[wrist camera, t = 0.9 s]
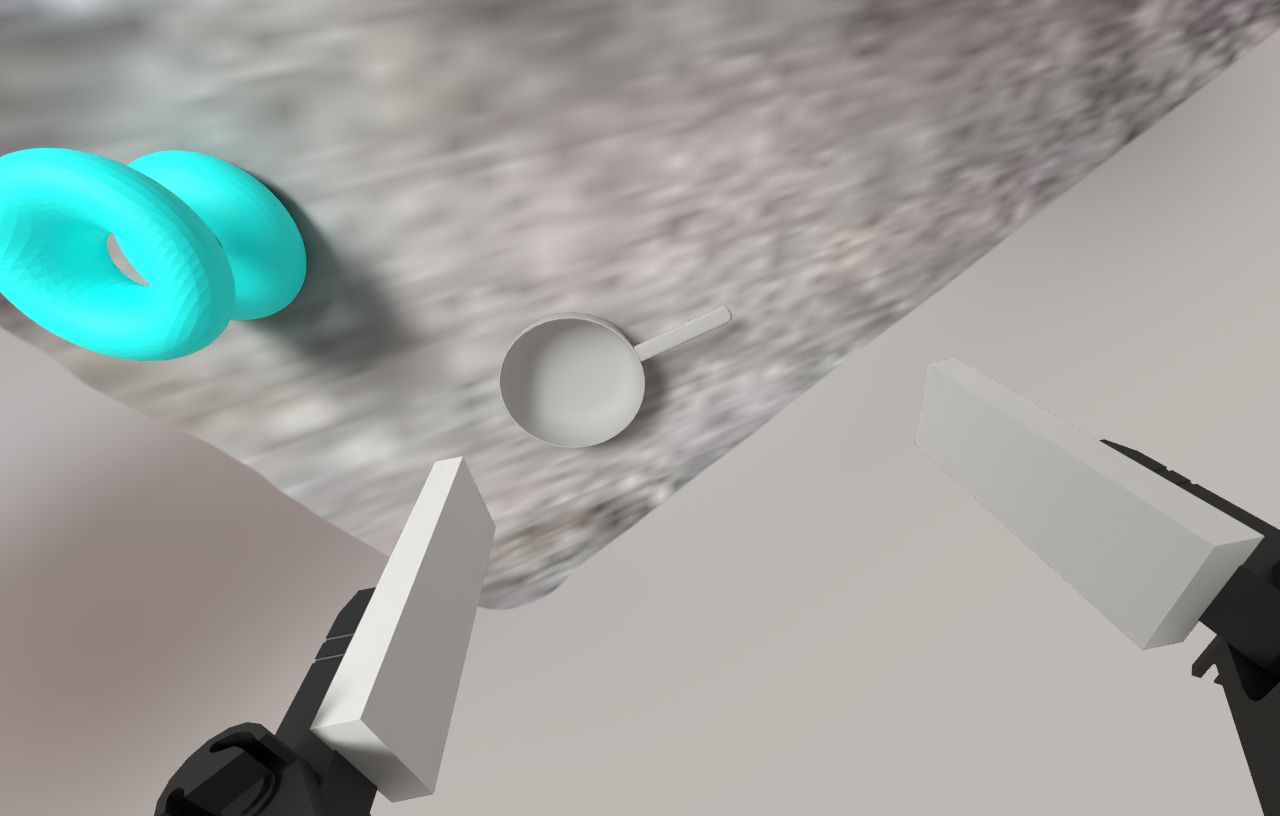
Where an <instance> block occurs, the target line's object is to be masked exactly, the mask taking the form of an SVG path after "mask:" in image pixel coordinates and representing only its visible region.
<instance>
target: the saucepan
mask: <svg viewBox="0 0 1280 816" xmlns="http://www.w3.org/2000/svg"><path fill="white" fill-rule="evenodd" d="M731 318H732V314H731V312H730V309H729V308H728V307H726V306H720V307H718V308H716V309H714V310H712V311H710V312H707V313H705V314H703V315H701V316H699V317H697V318H694V319H692V320H690V321H688V322H686V323H684V324H681V325H679V326H677V327H675V328H673V329H671V330H668V331H666V332H664V333H662V334H660V335H658V336H655V337H653V338H651V339H649V340H647V341H645V342H643V343H640V344H638V345H636V346H634V347H633V346H632V345H631V343H630V342H629V340H628V339H627V338H626V337H625V336H624V335H623V334H622V332H621V331H620V330H618V329H617V328H616V327H614V326H613V325H612V324H610V323H608V322H606V321H604V320H602V319H600V318H598V317H595V316H592V315H588V314H582V313H575V312H572V313H559V314H554V315H549V316H547V317H544V318H542V319H539V320H537V321H536V322H534V323H532V324H531V325H529V326H528V327H527V328H525V329H524V330H523V331H522V332H521V333H520V334H519V335H518V336H517V337H516V338H515V340H514V341H513V342H512V344H511V345H510V346H509V348H508V350H507V351H506V353H505V355H504V358H503V360H502V362H501V366H500V371H499V391H500V397H501V399H502V402H503V405H504V407H505V409H506V411H507V412H508V414H509V416H510V417H511V418H512V420H513V421H514V422H515V423H516V424H517V425H518V426H519V427H520V428H521V429H522V430H524V431H525V432H526V433H527V434H529V435H531V436H532V437H534V438H536V439H537V440H540V441H542V442H545V443H547V444H550V445H555V446H559V447H568V448H578V447H587V446H592V445H596V444H599V443H602V442H604V441H607V440H609V439H610V438H612V437H614V436H616V435H617V434H619V433H620V432H621V431H622V430H624V429H625V428H626V427H627V426H628V425H629V423H630V422H631V421H632V420H633V419H634V417H635V415H636V414H637V412H638V411H639V408H640V406H641V403H642V401H643V396H644V390H645V377H644V372H643V367H642V364H641V362H642V361H644V360H647V359H649V358H651V357H653V356H655V355H658V354H660V353H662V352H664V351H666V350H669V349H671V348H673V347H675V346H677V345H680V344H682V343H684V342H686V341H688V340H691V339H693V338H695V337H697V336H699V335H702V334H704V333H706V332H708V331H711V330H713V329H715V328H717V327H719V326H722V325H724V324H726V323H728V322H729V321H730V320H731Z"/></svg>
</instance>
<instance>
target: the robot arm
mask: <svg viewBox="0 0 1280 816" xmlns="http://www.w3.org/2000/svg"><path fill="white" fill-rule="evenodd" d="M915 444H916V445H917V446H918V447H919V448H920V449H921V450H922V451H923V452H925V453H926V454H927V455H928V456H929V457H930V458H931V459H932V460H934V461H935V462H936V463H937V464H938V465H939V466H940V467H941V468H942V469H943V470H944V471H945V472H947V473H948V474H949V475H950V476H951V477H952V478H953V479H954V480H955V481H957V482H958V483H959V484H960V485H961V486H962V487H963V488H964V489H965V490H967V491H968V492H969V493H970V494H971V495H972V496H973V497H974V498H975V499H976V500H977V501H979V502H980V503H981V504H982V505H983V506H984V507H985V508H986V509H987V510H988V511H990V512H991V513H992V514H993V515H994V516H995V517H996V518H997V519H998V520H999V521H1001V522H1002V523H1003V524H1004V525H1005V526H1006V527H1007V528H1008V529H1009V530H1010V531H1012V532H1013V533H1014V534H1015V535H1016V536H1017V537H1018V538H1019V539H1020V540H1021V541H1022V542H1024V543H1025V544H1026V545H1027V546H1028V547H1029V548H1030V549H1031V550H1032V551H1033V552H1035V553H1036V554H1037V555H1038V556H1039V557H1040V558H1041V559H1042V560H1043V561H1044V562H1046V563H1047V564H1048V565H1049V566H1050V567H1051V568H1052V569H1053V570H1054V571H1055V572H1057V573H1058V574H1059V575H1060V576H1061V577H1062V578H1063V579H1064V580H1065V581H1066V582H1068V583H1069V584H1070V585H1071V586H1072V587H1073V588H1074V589H1075V590H1076V591H1077V592H1079V593H1080V594H1081V595H1082V596H1083V597H1084V598H1085V599H1086V600H1087V601H1088V602H1090V603H1091V604H1092V605H1093V606H1094V607H1095V608H1096V609H1097V610H1098V611H1100V613H1102V614H1103V615H1104V616H1105V617H1106V618H1107V619H1108V620H1109V621H1110V622H1111V623H1113V624H1114V625H1115V626H1116V627H1117V628H1118V629H1119V630H1120V631H1122V633H1124V634H1125V635H1126V636H1127V637H1128V638H1129V639H1130V640H1131V641H1133V643H1135V644H1136V645H1137V646H1138V647H1139V648H1140V649H1141V650H1145V649H1150V648H1155V647H1160V646H1165V645H1170V644H1175V643H1180V642H1183V641H1184V640H1185V639H1186V637H1187V636H1188V635H1189V633H1190V632H1191V631H1192V629H1193V628H1194V627H1195V626H1196V624H1197V623H1198V622H1199V621H1200V622H1202V623H1203V624H1204V625H1206V626H1207V627H1208V628H1210V629H1211V630H1212V631H1213V632H1215V633H1216V634H1217V636H1216V637H1215V638H1214V639H1213V641H1212V642H1211V643H1210V644H1209V645H1208V647H1207V648H1206V649H1205V650H1204V651H1203V653H1202V654H1201V655H1200V656H1199V657H1198V659H1197V660H1196V661H1195V662H1194V664H1193V665H1192V675H1193V676H1196V677H1199V678H1201V677H1202V676H1203V675H1204V674H1205V673H1206V671H1207V670H1208V669H1209V668H1210V667H1211V666H1212V665H1213V664H1216V666H1217V669H1218V673H1219V675H1218V676H1217V678H1216V679H1215V680H1214V682H1215V683H1217V684H1220V685H1223V688H1224V692H1225V695H1226V698H1227V701H1228V704H1229V707H1230V710H1231V713H1232V716H1233V720H1234V722H1235V726H1236V729H1237V732H1238V735H1239V738H1240V741H1241V745H1242V748H1243V751H1244V754H1245V757H1246V760H1247V763H1248V766H1249V770H1250V773H1251V776H1252V779H1253V782H1254V785H1255V788H1256V791H1257V794H1258V798H1259V801H1260V804H1261V807H1262V810H1263V813H1264V816H1280V530H1279V529H1277V528H1275V527H1273V526H1271V525H1270V524H1268V523H1266V522H1264V521H1263V520H1261V519H1259V518H1257V517H1255V516H1254V515H1252V514H1250V513H1248V512H1246V511H1245V510H1243V509H1241V508H1239V507H1237V506H1235V505H1234V504H1232V503H1230V502H1228V501H1227V500H1225V499H1223V498H1221V497H1219V496H1218V495H1216V494H1214V493H1212V492H1210V491H1209V490H1207V489H1205V488H1203V487H1201V486H1200V485H1198V484H1192V483H1191V482H1190V480H1189V479H1187V478H1185V477H1184V476H1182V475H1180V474H1178V473H1176V472H1174V471H1173V470H1171V471H1168V470H1167V469H1166V466H1164V465H1162V464H1160V463H1158V462H1157V461H1155V460H1153V459H1151V458H1149V457H1148V456H1146V455H1144V454H1142V453H1140V452H1138V451H1136V450H1133V449H1130V448H1128V447H1125V446H1122V445H1119V444H1116V443H1113V442H1110V441H1107V440H1105V439H1104V440H1097V439H1095V438H1094V437H1092V436H1090V435H1089V434H1087V433H1085V432H1083V431H1081V430H1080V429H1078V428H1076V427H1075V426H1073V425H1071V424H1070V423H1068V422H1066V421H1064V420H1063V419H1060V418H1059V417H1057V416H1056V415H1054V414H1052V413H1050V412H1049V411H1047V410H1045V409H1044V408H1042V407H1040V406H1038V405H1037V404H1035V403H1033V402H1031V401H1030V400H1028V399H1026V398H1025V397H1023V396H1021V395H1019V394H1018V393H1016V392H1014V391H1012V390H1011V389H1009V388H1007V387H1005V386H1004V385H1002V384H1000V383H998V382H997V381H995V380H993V379H992V378H990V377H988V376H986V375H985V374H983V373H981V372H979V371H978V370H976V369H974V368H973V367H971V366H969V365H967V364H966V363H964V362H962V361H960V360H959V359H957V358H952V359H947V360H942V361H937V362H932V363H929V364H928V370H927V376H926V381H925V387H924V392H923V398H922V404H921V409H920V416H919V421H918V426H917V431H916V437H915ZM495 528H496V527H495V525H494V522H493V520H492V518H491V516H490V514H489V512H488V509H487V507H486V505H485V503H484V501H483V499H482V497H481V494H480V492H479V490H478V488H477V486H476V484H475V481H474V479H473V477H472V475H471V473H470V471H469V469H468V466H467V464H466V462H465V460H464V458H463V456H462V457H457V458H452V459H447V460H442V461H437V462H435V464H434V466H433V468H432V470H431V472H430V474H429V477H428V479H427V481H426V483H425V485H424V487H423V489H422V492H421V494H420V496H419V498H418V500H417V502H416V504H415V506H414V509H413V511H412V513H411V515H410V517H409V519H408V521H407V523H406V526H405V528H404V530H403V532H402V534H401V536H400V538H399V540H398V543H397V545H396V547H395V549H394V551H393V553H392V555H391V557H390V560H389V562H388V564H387V566H386V568H385V570H384V572H383V574H382V577H381V579H380V581H379V583H378V585H377V587H374V588H369V589H364V590H359V591H358V592H357V594H356V595H355V596H354V597H353V598H352V599H351V600H350V601H349V602H348V604H347V605H346V606H345V607H344V608H343V609H342V610H341V611H340V613H339V614H338V616H337V618H336V620H335V622H334V623H333V625H332V627H331V629H330V631H329V633H328V635H327V637H326V639H327V640H326V642H325V643H323V645H322V646H321V648H320V650H319V652H318V654H317V656H316V658H315V659H316V662H315V663H313V664H312V665H311V667H310V669H309V671H308V673H307V675H306V677H305V679H304V681H303V683H302V684H301V687H300V689H299V690H298V692H297V694H296V696H295V698H294V700H293V702H292V704H291V705H290V707H289V710H288V711H287V713H286V715H285V717H284V719H283V721H282V723H281V724H280V726H279V728H278V730H277V732H276V734H275V735H273V734H272V733H271V732H270V731H268V730H267V729H266V728H265V727H264V726H262V725H261V724H257V723H249V722H246V723H243V724H240V725H237V726H234V727H230V728H228V729H226V730H225V731H223V732H221V733H220V734H218V735H216V736H215V737H213V738H212V739H210V740H208V741H207V742H206V743H205V744H204V745H203V746H201V747H200V748H199V749H198V750H197V751H196V752H194V753H193V754H192V755H191V756H190V757H189V758H188V759H187V760H186V761H185V762H184V763H183V765H182V766H181V767H180V768H179V769H178V770H177V772H176V773H175V774H174V775H173V776H172V778H171V779H170V780H169V782H168V784H167V785H166V787H165V789H164V791H163V793H162V794H161V796H160V798H159V799H158V801H157V805H156V810H155V814H154V816H371V815H370V810H371V807H372V804H373V801H374V798H375V794H376V791H377V790H378V791H379V792H381V793H382V794H383V795H384V796H385V797H386V798H387V799H388V800H389V801H391V802H397V801H402V800H407V799H412V798H417V797H422V796H427V795H432V794H434V790H435V786H436V781H437V777H438V772H439V768H440V764H441V760H442V756H443V751H444V747H445V743H446V738H447V734H448V730H449V726H450V721H451V717H452V713H453V708H454V704H455V700H456V695H457V691H458V687H459V683H460V678H461V674H462V670H463V665H464V661H465V657H466V652H467V648H468V644H469V640H470V635H471V631H472V627H473V622H474V618H475V614H476V610H477V605H478V601H479V597H480V593H481V588H482V584H483V580H484V575H485V571H486V567H487V563H488V558H489V554H490V550H491V545H492V541H493V537H494V533H495Z"/></svg>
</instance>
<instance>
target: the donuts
mask: <svg viewBox="0 0 1280 816" xmlns="http://www.w3.org/2000/svg"><path fill="white" fill-rule="evenodd" d="M110 233H113V234H114V235H115V238H116V240H117V242H118V244H119V246H120V248H121V250H122V251H123V253H124V255H125V256H126V258H127V259H128V261H129V262H130V263H131V265H132V266H133V267H134V268H135V269H136V271H137V272H138V273H139V274H140V275H141V276H142V277H143V278H144V279H145V280H146V281H147V282H148V283H150V284H151V286H144V285H141V284H139V283H137V282H135V281H133V280H132V279H130V278H128V277H127V276H126V275H125V274H123V273H122V272H121V271H120V270H119V269H118V268H117V266H116V265H115V264H114V263H113V261H112V259H111V258H110V255H109V253H108V250H107V243H106V242H107V237H108V235H109V234H110ZM214 235H215V236H216V237H215V236H214ZM216 238H217V239H218V240H219V242H220V243H219V242H218V240H217V239H216ZM220 244H221V245H220ZM221 246H222V247H221ZM222 248H223V249H222ZM306 265H307V261H306V252H305V247H304V243H303V240H302V237H301V234H300V232H299V230H298V228H297V226H296V224H295V222H294V220H293V219H292V217H291V215H290V214H289V212H288V211H287V210H286V208H285V207H284V206H283V204H282V203H281V202H280V201H279V200H278V199H277V198H276V197H275V195H274V194H273V193H272V192H271V191H270V190H268V189H267V188H266V187H265V186H264V185H263V184H262V183H260V182H259V181H258V180H256V179H255V178H254V177H252V176H251V175H249V174H248V173H246V172H245V171H243V170H241V169H240V168H238V167H236V166H234V165H232V164H230V163H228V162H225V161H223V160H220V159H217V158H215V157H212V156H209V155H205V154H201V153H196V152H190V151H162V152H156V153H152V154H149V155H146V156H143V157H141V158H139V159H137V160H135V161H133V162H132V163H130V164H129V165H128V166H126V165H124V164H122V163H119V162H117V161H114V160H111V159H108V158H105V157H102V156H99V155H95V154H91V153H86V152H82V151H77V150H71V149H62V148H36V149H27V150H21V151H18V152H14V153H11V154H7V155H5V156H2V157H0V292H1V293H2V294H3V295H4V296H5V297H6V298H7V299H8V300H9V301H10V302H11V303H12V304H13V305H14V306H15V307H17V308H18V309H19V310H20V311H21V312H23V313H24V314H25V315H27V316H28V317H29V318H31V319H32V320H33V321H35V322H36V323H37V324H39V325H40V326H42V327H44V328H45V329H47V330H49V331H50V332H52V333H54V334H56V335H58V336H60V337H62V338H63V339H65V340H67V341H69V342H72V343H74V344H76V345H78V346H81V347H83V348H86V349H88V350H91V351H94V352H97V353H100V354H104V355H108V356H112V357H117V358H122V359H129V360H138V361H161V360H169V359H175V358H180V357H184V356H187V355H190V354H192V353H194V352H197V351H199V350H201V349H203V348H205V347H206V346H208V345H209V344H211V343H212V342H213V341H214V340H215V339H216V338H217V337H218V336H219V335H220V334H221V333H222V332H223V331H224V329H225V328H226V326H227V325H228V323H229V321H230V320H252V319H258V318H263V317H267V316H269V315H272V314H274V313H276V312H278V311H280V310H282V309H283V308H285V307H286V306H287V305H289V304H290V303H291V302H292V301H293V300H294V298H295V297H296V296H297V294H298V293H299V291H300V289H301V287H302V285H303V283H304V280H305V275H306Z"/></svg>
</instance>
